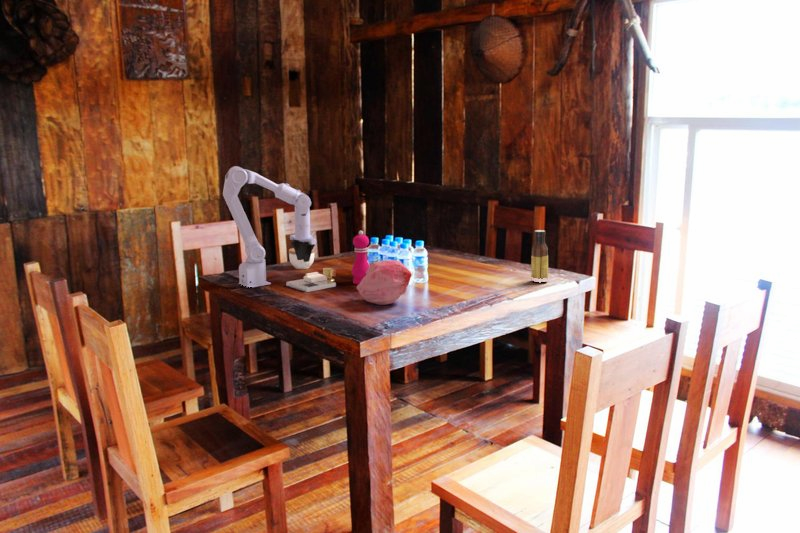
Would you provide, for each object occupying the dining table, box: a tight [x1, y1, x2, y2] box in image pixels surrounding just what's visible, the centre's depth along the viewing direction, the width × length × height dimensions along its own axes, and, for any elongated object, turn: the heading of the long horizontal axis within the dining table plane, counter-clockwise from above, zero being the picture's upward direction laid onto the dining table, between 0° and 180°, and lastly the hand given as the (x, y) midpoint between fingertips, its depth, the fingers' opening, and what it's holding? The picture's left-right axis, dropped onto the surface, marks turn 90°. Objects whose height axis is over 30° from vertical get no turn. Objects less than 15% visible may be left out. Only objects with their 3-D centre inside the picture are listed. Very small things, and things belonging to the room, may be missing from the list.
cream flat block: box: [303, 271, 327, 283], centre depth 256 cm, size 7×5×2 cm
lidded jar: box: [288, 247, 316, 270], centre depth 285 cm, size 11×11×9 cm
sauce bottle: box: [530, 229, 549, 279], centre depth 260 cm, size 7×6×20 cm
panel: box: [285, 278, 337, 293], centre depth 254 cm, size 13×13×2 cm
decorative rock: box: [356, 259, 412, 306], centre depth 229 cm, size 19×14×15 cm
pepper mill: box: [351, 230, 370, 285], centre depth 257 cm, size 7×7×20 cm
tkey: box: [322, 267, 337, 282], centre depth 262 cm, size 6×4×5 cm, turn 42°
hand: (303, 260), depth 261 cm, fingers open, 4 cm apart
